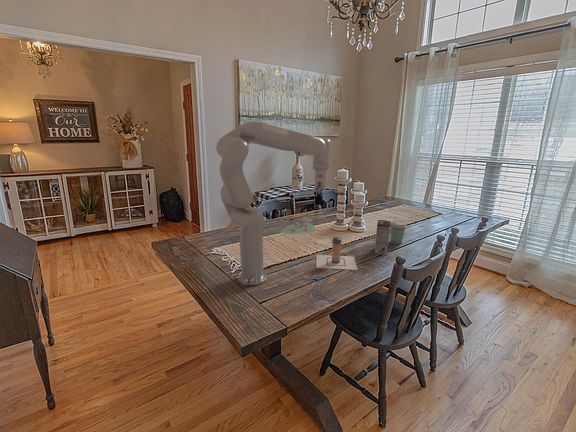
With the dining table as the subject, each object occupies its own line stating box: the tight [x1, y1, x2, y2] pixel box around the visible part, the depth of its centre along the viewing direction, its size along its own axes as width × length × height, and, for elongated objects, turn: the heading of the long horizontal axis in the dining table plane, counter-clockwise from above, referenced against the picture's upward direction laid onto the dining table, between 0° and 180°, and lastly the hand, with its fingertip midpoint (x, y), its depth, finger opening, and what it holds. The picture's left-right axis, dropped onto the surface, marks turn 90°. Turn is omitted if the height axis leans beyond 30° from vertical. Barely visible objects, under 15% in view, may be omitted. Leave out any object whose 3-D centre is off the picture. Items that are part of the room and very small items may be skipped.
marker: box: [331, 236, 342, 264], centre depth 147 cm, size 4×4×12 cm
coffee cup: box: [390, 220, 406, 246], centre depth 173 cm, size 9×8×12 cm
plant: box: [279, 215, 317, 235], centre depth 197 cm, size 25×21×9 cm
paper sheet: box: [315, 254, 359, 271], centre depth 149 cm, size 15×19×1 cm
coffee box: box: [374, 219, 392, 256], centre depth 160 cm, size 9×6×16 cm
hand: (318, 202), depth 144 cm, fingers open, 9 cm apart
